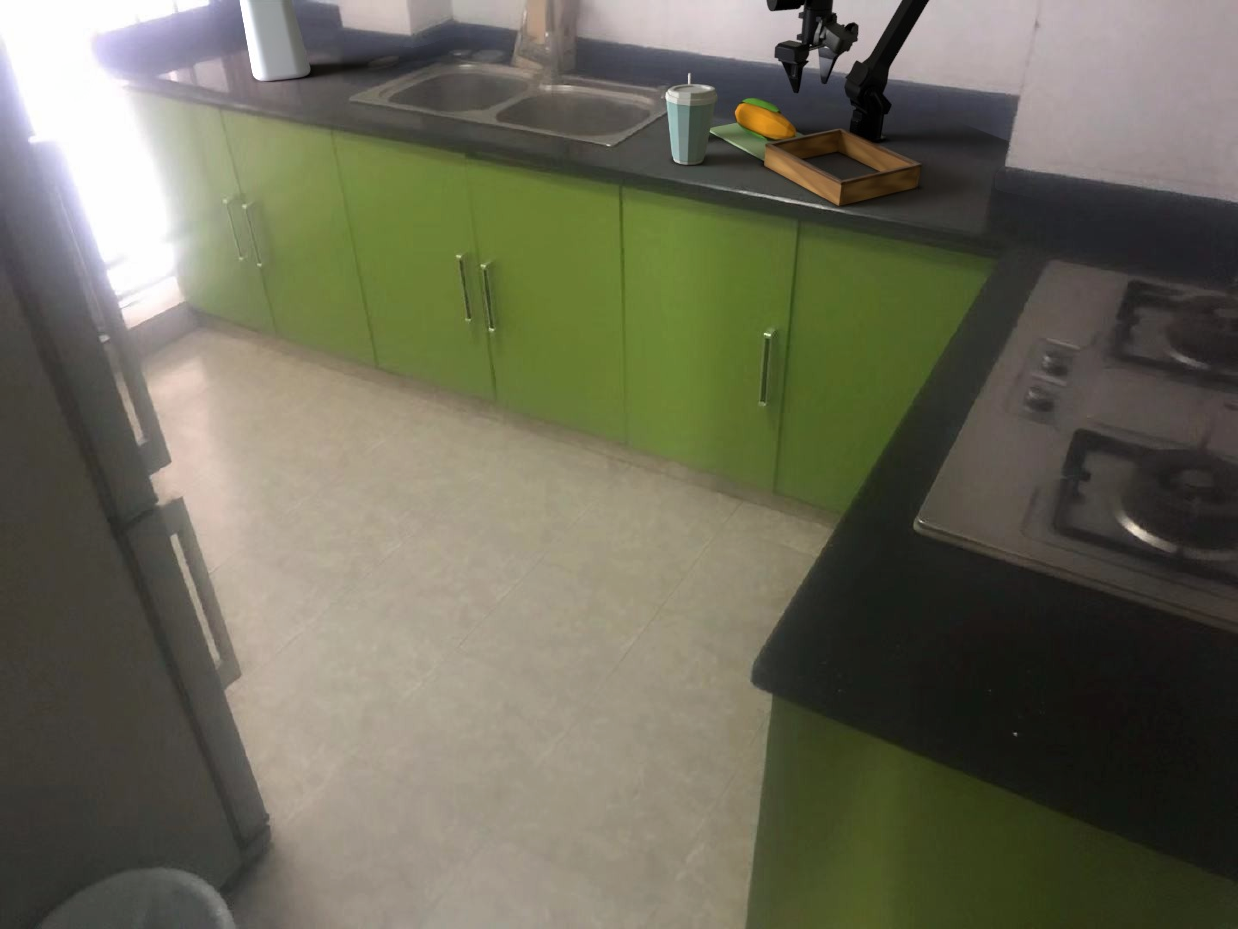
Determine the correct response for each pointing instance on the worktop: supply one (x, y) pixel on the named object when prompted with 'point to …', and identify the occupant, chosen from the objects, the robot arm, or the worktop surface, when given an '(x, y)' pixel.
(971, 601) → the worktop surface
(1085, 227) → the worktop surface
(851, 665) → the worktop surface
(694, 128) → the disposable coffee cup
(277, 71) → the plastic bottle
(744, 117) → the corn
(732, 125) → the mat
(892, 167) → the wooden tray
